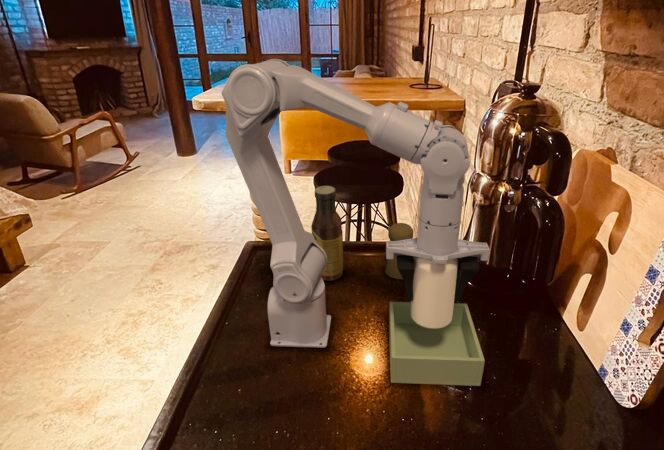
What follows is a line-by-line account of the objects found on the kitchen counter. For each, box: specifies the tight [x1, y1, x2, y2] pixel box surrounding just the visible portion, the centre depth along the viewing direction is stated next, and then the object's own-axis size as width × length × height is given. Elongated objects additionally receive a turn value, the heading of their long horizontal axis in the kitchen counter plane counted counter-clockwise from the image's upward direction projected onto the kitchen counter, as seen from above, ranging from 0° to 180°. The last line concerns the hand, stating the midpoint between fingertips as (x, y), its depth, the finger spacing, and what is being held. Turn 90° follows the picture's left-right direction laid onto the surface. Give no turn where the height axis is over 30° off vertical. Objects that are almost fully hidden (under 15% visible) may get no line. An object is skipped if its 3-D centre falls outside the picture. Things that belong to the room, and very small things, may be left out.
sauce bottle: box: [310, 185, 344, 282], centre depth 83 cm, size 6×6×20 cm
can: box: [410, 257, 458, 329], centre depth 62 cm, size 6×6×12 cm
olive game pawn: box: [384, 222, 414, 280], centre depth 85 cm, size 6×6×11 cm
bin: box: [388, 301, 486, 387], centre depth 65 cm, size 13×13×5 cm
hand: (432, 297), depth 62 cm, fingers closed on can, 6 cm apart
